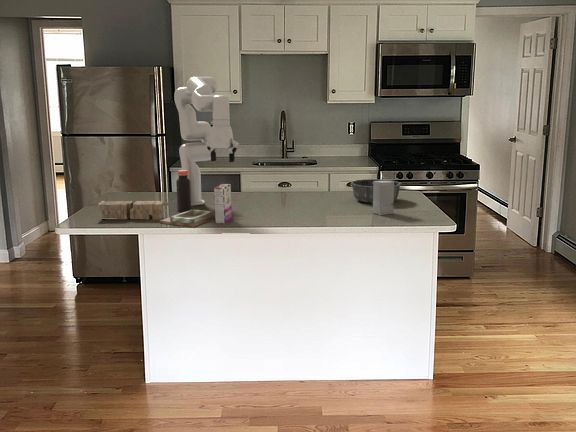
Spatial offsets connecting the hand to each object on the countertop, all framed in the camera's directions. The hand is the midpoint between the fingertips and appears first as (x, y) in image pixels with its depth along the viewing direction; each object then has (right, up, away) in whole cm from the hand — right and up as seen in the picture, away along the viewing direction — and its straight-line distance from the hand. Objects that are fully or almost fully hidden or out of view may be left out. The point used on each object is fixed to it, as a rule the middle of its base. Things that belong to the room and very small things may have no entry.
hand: (222, 161), depth 283 cm
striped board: (-16, -27, +6) cm, 32 cm away
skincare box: (+76, -24, +19) cm, 82 cm away
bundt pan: (+76, -17, +50) cm, 93 cm away
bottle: (-22, -22, +28) cm, 42 cm away
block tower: (-44, -26, +12) cm, 52 cm away
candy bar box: (0, -27, +5) cm, 28 cm away
